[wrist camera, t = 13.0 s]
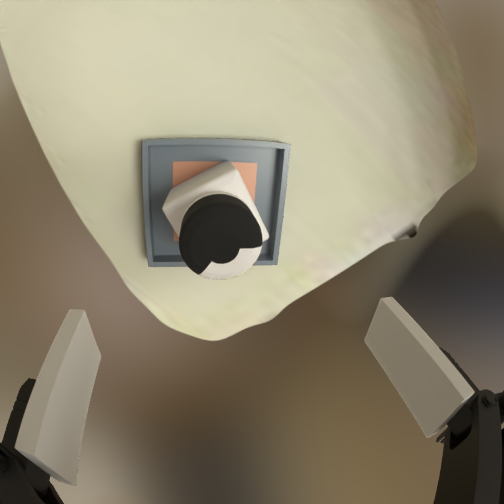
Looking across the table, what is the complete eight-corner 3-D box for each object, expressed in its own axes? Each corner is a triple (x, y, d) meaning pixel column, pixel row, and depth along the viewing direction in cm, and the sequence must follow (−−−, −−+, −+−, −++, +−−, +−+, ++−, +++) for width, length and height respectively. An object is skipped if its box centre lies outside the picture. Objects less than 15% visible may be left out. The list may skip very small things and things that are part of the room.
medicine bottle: (169, 189, 28) (150, 229, 17) (228, 158, 28) (247, 178, 17) (199, 242, 31) (202, 305, 21) (255, 214, 31) (286, 264, 20)
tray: (147, 139, 26) (142, 140, 24) (283, 142, 29) (290, 143, 27) (151, 257, 32) (148, 266, 30) (272, 255, 35) (277, 264, 32)
